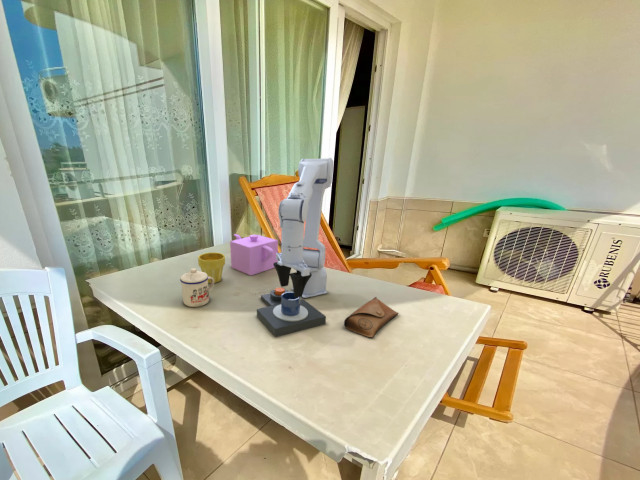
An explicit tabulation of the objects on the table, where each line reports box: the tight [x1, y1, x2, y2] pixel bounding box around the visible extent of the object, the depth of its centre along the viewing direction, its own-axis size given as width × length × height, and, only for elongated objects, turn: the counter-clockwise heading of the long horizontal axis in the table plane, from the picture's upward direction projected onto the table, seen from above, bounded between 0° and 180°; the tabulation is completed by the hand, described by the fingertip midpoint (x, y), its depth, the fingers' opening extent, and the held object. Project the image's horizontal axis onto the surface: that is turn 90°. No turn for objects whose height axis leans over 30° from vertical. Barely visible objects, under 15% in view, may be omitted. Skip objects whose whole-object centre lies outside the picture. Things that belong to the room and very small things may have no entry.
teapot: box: [229, 233, 279, 276], centre depth 129 cm, size 15×25×14 cm, turn 38°
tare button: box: [274, 287, 286, 295], centre depth 99 cm, size 3×3×2 cm
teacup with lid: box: [179, 267, 215, 308], centre depth 101 cm, size 12×9×12 cm
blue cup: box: [281, 291, 301, 316], centre depth 87 cm, size 5×5×5 cm
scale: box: [256, 298, 327, 338], centre depth 88 cm, size 16×12×3 cm
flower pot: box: [197, 251, 226, 284], centre depth 117 cm, size 10×10×10 cm
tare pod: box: [260, 289, 290, 307], centre depth 100 cm, size 10×8×3 cm
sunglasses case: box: [343, 296, 400, 338], centre depth 86 cm, size 18×7×7 cm
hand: (290, 290), depth 85 cm, fingers open, 7 cm apart
